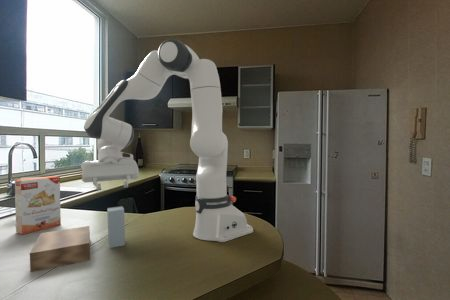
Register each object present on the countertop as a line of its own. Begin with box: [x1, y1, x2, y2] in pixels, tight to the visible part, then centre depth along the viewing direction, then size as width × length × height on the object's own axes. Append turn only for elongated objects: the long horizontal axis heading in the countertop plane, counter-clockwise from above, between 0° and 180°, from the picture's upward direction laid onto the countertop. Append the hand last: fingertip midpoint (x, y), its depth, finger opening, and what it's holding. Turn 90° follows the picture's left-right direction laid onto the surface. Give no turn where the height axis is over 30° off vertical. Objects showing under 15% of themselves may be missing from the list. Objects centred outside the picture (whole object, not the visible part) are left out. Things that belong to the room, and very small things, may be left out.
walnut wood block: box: [29, 225, 91, 273], centre depth 79 cm, size 14×18×5 cm
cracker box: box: [14, 175, 62, 236], centre depth 103 cm, size 14×6×21 cm, turn 149°
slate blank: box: [106, 205, 126, 249], centre depth 86 cm, size 5×5×12 cm
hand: (112, 187), depth 95 cm, fingers open, 8 cm apart
